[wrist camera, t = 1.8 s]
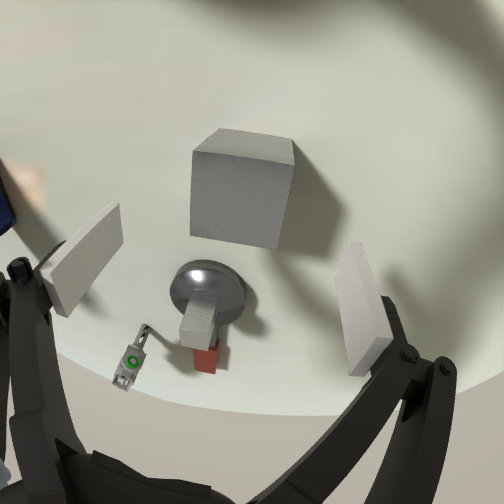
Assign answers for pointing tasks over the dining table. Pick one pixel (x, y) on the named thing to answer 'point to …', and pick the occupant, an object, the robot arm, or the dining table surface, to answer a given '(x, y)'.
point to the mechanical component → (131, 361)
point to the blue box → (5, 213)
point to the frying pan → (206, 307)
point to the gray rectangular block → (241, 187)
